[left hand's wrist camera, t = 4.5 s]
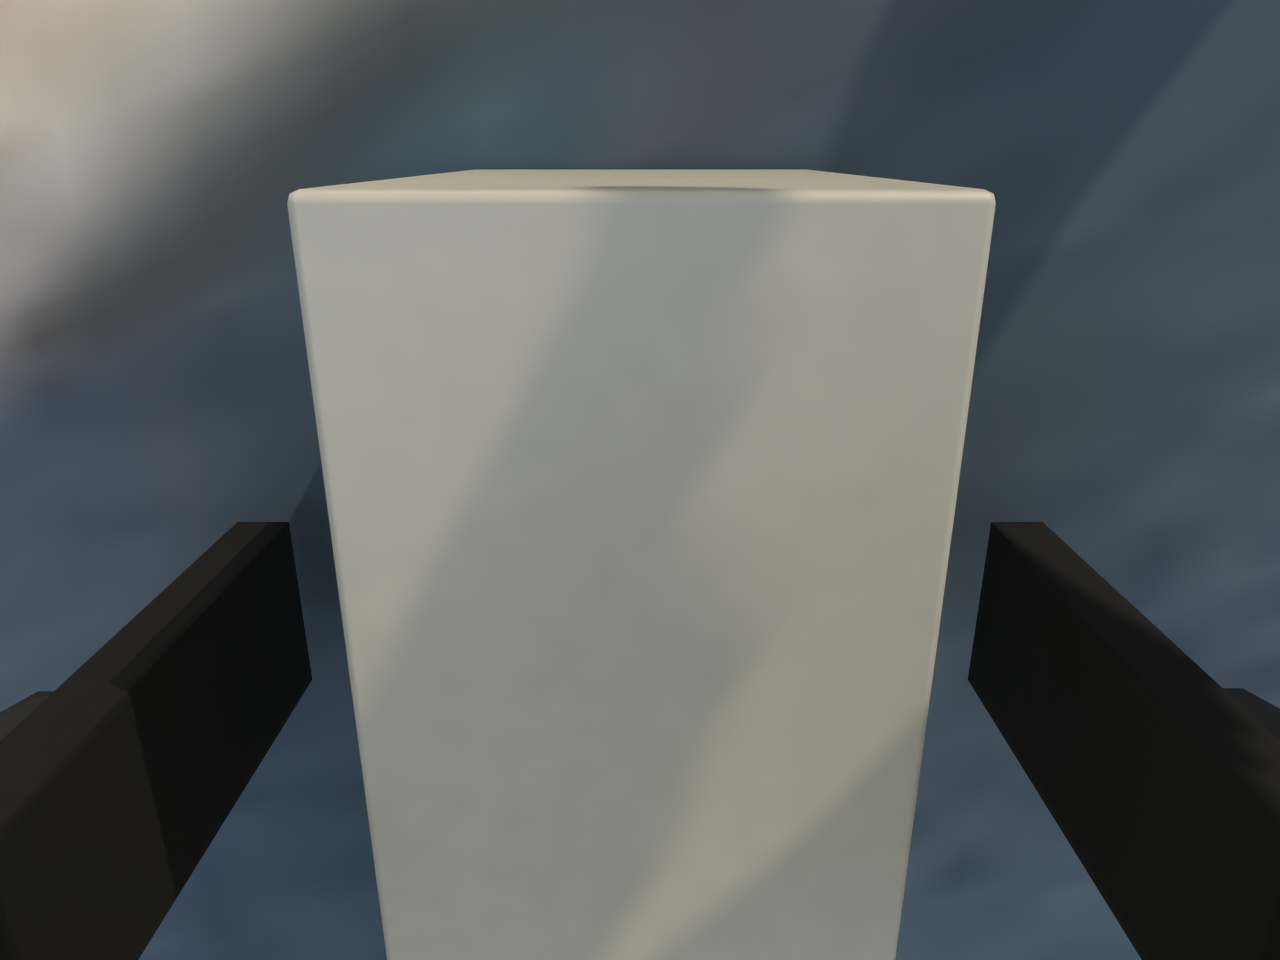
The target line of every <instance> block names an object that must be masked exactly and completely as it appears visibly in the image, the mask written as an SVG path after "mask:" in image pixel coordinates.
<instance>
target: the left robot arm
mask: <svg viewBox="0 0 1280 960" xmlns="http://www.w3.org/2000/svg"><path fill="white" fill-rule="evenodd" d="M311 680H312V675H311V669H310V662H309V655H308V649H307V642H306V635H305V628H304V622H303V615H302V608H301V602H300V595H299V588H298V581H297V575H296V568H295V561H294V555H293V548H292V541H291V535H290V528H289V522H237V523H236V524H235V525H234V526H233V527H232V528H231V529H230V530H229V531H228V532H227V533H225V534H224V535H223V536H222V537H221V538H220V539H219V540H218V541H217V542H216V543H215V544H213V545H212V546H211V547H210V548H209V549H208V550H207V551H206V552H205V553H204V554H203V555H202V556H200V557H199V558H198V559H197V560H196V561H195V562H194V563H193V564H192V565H191V566H190V567H189V568H187V569H186V570H185V571H184V572H183V573H182V574H181V575H180V576H179V577H178V578H177V579H176V580H174V581H173V582H172V583H171V584H170V585H169V586H168V587H167V588H166V589H165V590H164V591H163V592H161V593H160V594H159V595H158V596H157V597H156V598H155V599H154V600H153V601H152V602H151V603H150V604H148V605H147V606H146V607H145V608H144V609H143V610H142V611H141V612H140V613H139V614H138V615H137V616H135V617H134V618H133V619H132V620H131V621H130V622H129V623H128V624H127V625H126V626H125V627H123V628H122V629H121V630H120V631H119V632H118V633H117V634H116V635H115V636H114V637H113V638H112V639H110V640H109V641H108V642H107V643H106V644H105V645H104V646H103V647H102V648H101V649H100V650H99V651H97V652H96V653H95V654H94V655H93V656H92V657H91V658H90V659H89V660H88V661H87V662H86V663H84V664H83V665H82V666H81V667H80V668H79V669H78V670H77V671H76V672H75V673H74V674H73V675H71V676H70V677H69V678H68V679H67V680H66V681H65V682H64V683H63V684H62V685H61V686H60V687H58V688H57V689H56V690H55V691H38V692H36V693H35V694H33V695H31V696H29V697H27V698H25V699H24V700H22V701H20V702H18V703H16V704H15V705H13V706H11V707H9V708H7V709H5V710H4V711H2V712H0V960H138V959H139V958H140V956H141V954H142V953H143V951H144V950H145V948H146V946H147V945H148V943H149V942H150V940H151V938H152V937H153V935H154V933H155V932H156V930H157V929H158V927H159V925H160V924H161V922H162V921H163V919H164V917H165V916H166V914H167V913H168V911H169V909H170V908H171V906H172V904H173V903H174V901H175V900H176V898H177V896H178V895H179V893H180V892H181V890H182V888H183V887H184V885H185V884H186V882H187V880H188V879H189V877H190V875H191V874H192V872H193V871H194V869H195V867H196V866H197V864H198V863H199V861H200V859H201V858H202V856H203V855H204V853H205V851H206V850H207V848H208V846H209V845H210V843H211V842H212V840H213V838H214V837H215V835H216V834H217V832H218V830H219V829H220V827H221V826H222V824H223V822H224V821H225V819H226V817H227V816H228V814H229V813H230V811H231V809H232V808H233V806H234V805H235V803H236V801H237V800H238V798H239V797H240V795H241V793H242V792H243V790H244V788H245V787H246V785H247V784H248V782H249V780H250V779H251V777H252V776H253V774H254V772H255V771H256V769H257V768H258V766H259V764H260V763H261V761H262V759H263V758H264V756H265V755H266V753H267V751H268V750H269V748H270V747H271V745H272V743H273V742H274V740H275V738H276V737H277V735H278V734H279V732H280V730H281V729H282V727H283V726H284V724H285V722H286V721H287V719H288V718H289V716H290V714H291V713H292V711H293V709H294V708H295V706H296V705H297V703H298V701H299V700H300V698H301V697H302V695H303V693H304V692H305V690H306V689H307V687H308V685H309V684H310V682H311ZM968 680H969V682H970V684H971V685H972V687H973V689H974V690H975V692H976V693H977V695H978V697H979V698H980V700H981V701H982V703H983V705H984V706H985V708H986V709H987V711H988V713H989V714H990V716H991V718H992V719H993V721H994V722H995V724H996V726H997V727H998V729H999V730H1000V732H1001V734H1002V735H1003V737H1004V738H1005V740H1006V742H1007V743H1008V745H1009V747H1010V748H1011V750H1012V751H1013V753H1014V755H1015V756H1016V758H1017V759H1018V761H1019V763H1020V764H1021V766H1022V767H1023V769H1024V771H1025V772H1026V774H1027V776H1028V777H1029V779H1030V780H1031V782H1032V784H1033V785H1034V787H1035V788H1036V790H1037V792H1038V793H1039V795H1040V796H1041V798H1042V800H1043V801H1044V803H1045V805H1046V806H1047V808H1048V809H1049V811H1050V813H1051V814H1052V816H1053V817H1054V819H1055V821H1056V822H1057V824H1058V825H1059V827H1060V829H1061V830H1062V832H1063V834H1064V835H1065V837H1066V838H1067V840H1068V842H1069V843H1070V845H1071V846H1072V848H1073V850H1074V851H1075V853H1076V854H1077V856H1078V858H1079V859H1080V861H1081V863H1082V864H1083V866H1084V867H1085V869H1086V871H1087V872H1088V874H1089V875H1090V877H1091V879H1092V880H1093V882H1094V883H1095V885H1096V887H1097V888H1098V890H1099V892H1100V893H1101V895H1102V896H1103V898H1104V900H1105V901H1106V903H1107V904H1108V906H1109V908H1110V909H1111V911H1112V912H1113V914H1114V916H1115V917H1116V919H1117V921H1118V922H1119V924H1120V925H1121V927H1122V929H1123V930H1124V932H1125V933H1126V935H1127V937H1128V938H1129V940H1130V941H1131V943H1132V945H1133V946H1134V948H1135V950H1136V951H1137V953H1138V954H1139V956H1140V958H1141V959H1142V960H1280V709H1279V708H1277V707H1276V706H1274V705H1272V704H1270V703H1268V702H1266V701H1265V700H1263V699H1261V698H1259V697H1257V696H1255V695H1254V694H1252V693H1250V692H1248V691H1246V690H1244V689H1243V688H1222V687H1221V686H1219V685H1218V684H1217V683H1216V682H1215V681H1214V680H1213V679H1212V678H1211V677H1210V676H1209V675H1207V674H1206V673H1205V672H1204V671H1203V670H1202V669H1201V668H1200V667H1199V666H1198V665H1197V664H1196V663H1194V662H1193V661H1192V660H1191V659H1190V658H1189V657H1188V656H1187V655H1186V654H1185V653H1184V652H1183V651H1181V650H1180V649H1179V648H1178V647H1177V646H1176V645H1175V644H1174V643H1173V642H1172V641H1171V640H1170V639H1168V638H1167V637H1166V636H1165V635H1164V634H1163V633H1162V632H1161V631H1160V630H1159V629H1158V628H1157V627H1155V626H1154V625H1153V624H1152V623H1151V622H1150V621H1149V620H1148V619H1147V618H1146V617H1145V616H1144V615H1142V614H1141V613H1140V612H1139V611H1138V610H1137V609H1136V608H1135V607H1134V606H1133V605H1132V604H1130V603H1129V602H1128V601H1127V600H1126V599H1125V598H1124V597H1123V596H1122V595H1121V594H1120V593H1119V592H1117V591H1116V590H1115V589H1114V588H1113V587H1112V586H1111V585H1110V584H1109V583H1108V582H1107V581H1106V580H1104V579H1103V578H1102V577H1101V576H1100V575H1099V574H1098V573H1097V572H1096V571H1095V570H1094V569H1093V568H1091V567H1090V566H1089V565H1088V564H1087V563H1086V562H1085V561H1084V560H1083V559H1082V558H1081V557H1080V556H1078V555H1077V554H1076V553H1075V552H1074V551H1073V550H1072V549H1071V548H1070V547H1069V546H1068V545H1067V544H1065V543H1064V542H1063V541H1062V540H1061V539H1060V538H1059V537H1058V536H1057V535H1056V534H1055V533H1054V532H1052V531H1051V530H1050V529H1049V528H1048V527H1047V526H1046V525H1045V524H1044V523H1043V522H991V528H990V535H989V541H988V548H987V555H986V561H985V568H984V575H983V582H982V588H981V595H980V602H979V608H978V615H977V622H976V629H975V635H974V642H973V649H972V655H971V662H970V669H969V675H968Z"/></svg>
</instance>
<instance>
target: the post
mask: <svg viewBox="0 0 1280 960" xmlns="http://www.w3.org/2000/svg"><path fill="white" fill-rule="evenodd" d="M287 205H288V213H289V221H290V228H291V236H292V243H293V251H294V258H295V266H296V274H297V281H298V289H299V296H300V304H301V312H302V319H303V327H304V334H305V342H306V349H307V357H308V365H309V372H310V380H311V387H312V395H313V403H314V410H315V418H316V425H317V433H318V441H319V448H320V456H321V463H322V471H323V478H324V486H325V494H326V501H327V509H328V516H329V524H330V532H331V539H332V547H333V554H334V562H335V569H336V577H337V585H338V592H339V600H340V607H341V615H342V623H343V630H344V638H345V645H346V653H347V660H348V668H349V676H350V683H351V691H352V698H353V706H354V714H355V721H356V729H357V736H358V744H359V751H360V759H361V767H362V774H363V782H364V789H365V797H366V805H367V812H368V820H369V827H370V835H371V842H372V850H373V858H374V865H375V873H376V880H377V888H378V896H379V903H380V911H381V918H382V926H383V933H384V941H385V949H386V956H387V960H895V957H896V950H897V942H898V935H899V927H900V920H901V912H902V905H903V897H904V890H905V882H906V875H907V867H908V860H909V852H910V845H911V837H912V830H913V822H914V815H915V807H916V800H917V792H918V784H919V777H920V769H921V762H922V754H923V747H924V739H925V732H926V724H927V717H928V709H929V702H930V694H931V687H932V679H933V672H934V664H935V657H936V649H937V642H938V634H939V627H940V619H941V612H942V604H943V597H944V589H945V582H946V574H947V567H948V559H949V552H950V544H951V537H952V529H953V521H954V514H955V506H956V499H957V491H958V484H959V476H960V469H961V461H962V454H963V446H964V439H965V431H966V424H967V416H968V409H969V401H970V394H971V386H972V379H973V371H974V364H975V356H976V349H977V341H978V334H979V326H980V319H981V311H982V304H983V296H984V289H985V281H986V274H987V266H988V258H989V251H990V243H991V236H992V228H993V221H994V213H995V206H996V202H995V197H994V194H993V193H991V192H989V191H987V190H985V189H976V188H967V187H958V186H950V185H941V184H932V183H923V182H914V181H905V180H896V179H887V178H878V177H869V176H860V175H851V174H842V173H833V172H824V171H815V170H467V171H458V172H449V173H440V174H431V175H423V176H414V177H405V178H396V179H387V180H378V181H369V182H360V183H351V184H342V185H333V186H324V187H315V188H306V189H298V190H296V191H294V192H292V193H290V194H289V198H288V202H287Z"/></svg>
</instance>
